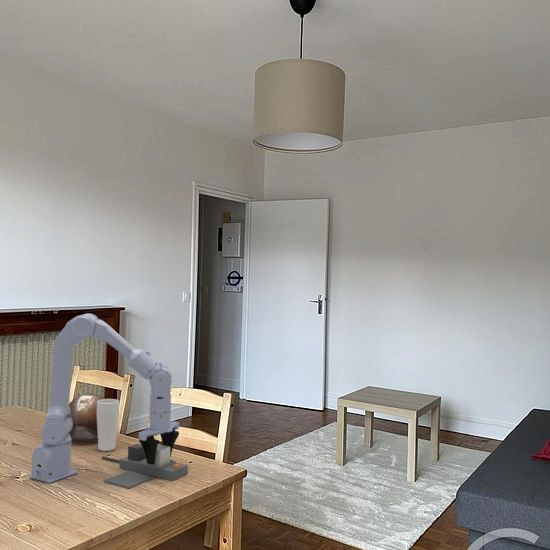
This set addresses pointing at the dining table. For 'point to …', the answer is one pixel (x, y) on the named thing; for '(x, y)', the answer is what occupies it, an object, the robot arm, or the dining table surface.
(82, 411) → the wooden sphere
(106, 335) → the robot arm
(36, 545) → the dining table surface
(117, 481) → the felt mat
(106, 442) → the drinking glass
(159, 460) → the block
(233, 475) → the dining table surface
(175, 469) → the power strip
